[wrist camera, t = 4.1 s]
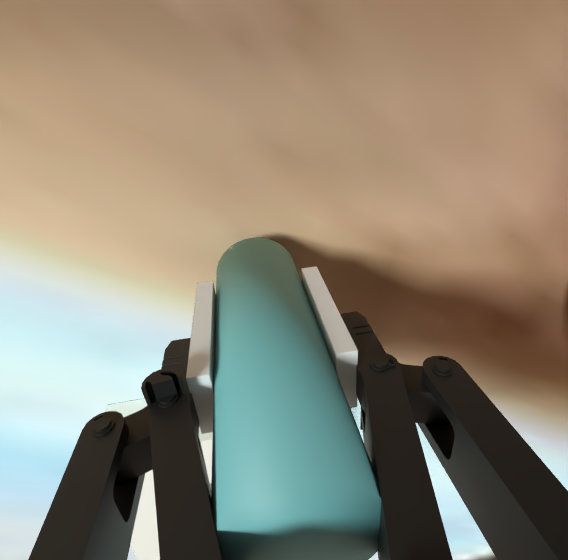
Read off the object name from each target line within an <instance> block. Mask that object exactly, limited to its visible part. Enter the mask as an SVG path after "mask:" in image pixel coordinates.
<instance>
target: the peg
mask: <svg viewBox="0 0 568 560" xmlns="http://www.w3.org/2000/svg"><path fill="white" fill-rule="evenodd" d="M211 507H212V514H213V519H214V525H215V530H216V534H217V538H218V541H219V544H220V547H221V551H222V554H223V557H224V560H368V559H369V558H371V557H372V556H373V555H374V554H375V553H376V552H377V551H378V541H379V526H380V511H381V496H380V491H379V487H378V482H377V478H376V475H375V471H374V469H373V466H372V464H371V461H370V458H369V456H368V453H367V451H366V448H365V445H364V443H363V440H362V438H361V435H360V432H359V430H358V427H357V425H356V422H355V419H354V417H353V414H352V412H351V409H350V406H349V404H348V401H347V399H346V396H345V393H344V391H343V388H342V386H341V383H340V380H339V378H338V375H337V373H336V370H335V367H334V365H333V362H332V360H331V357H330V354H329V352H328V349H327V347H326V344H325V341H324V339H323V336H322V334H321V331H320V328H319V326H318V323H317V321H316V318H315V315H314V313H313V310H312V308H311V305H310V302H309V300H308V297H307V294H306V292H305V289H304V287H303V284H302V281H301V279H300V276H299V274H298V271H297V268H296V266H295V263H294V261H293V258H292V256H291V255H290V253H289V252H288V251H287V250H286V248H284V247H283V246H282V245H281V244H279V243H277V242H275V241H273V240H270V239H266V238H249V239H245V240H242V241H240V242H237V243H236V244H234V245H232V246H231V247H230V248H229V249H228V250H227V251H226V252H225V253H224V254H223V256H222V257H221V259H220V261H219V264H218V267H217V281H216V322H215V362H214V400H213V440H212V480H211Z"/></svg>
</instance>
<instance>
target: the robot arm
mask: <svg viewBox="0 0 568 560" xmlns="http://www.w3.org/2000/svg"><path fill="white" fill-rule="evenodd" d="M301 270H302V284H303V287H304V289H305V292H306V294H307V297H308V300H309V302H310V305H311V308H312V310H313V313H314V315H315V318H316V321H317V323H318V326H319V328H320V331H321V334H322V336H323V339H324V341H325V344H326V347H327V349H328V352H329V354H330V357H331V360H332V362H333V365H334V367H335V370H336V373H337V375H338V378H339V380H340V383H341V386H342V388H343V391H344V393H345V396H346V399H347V401H348V404H349V406H350V408H353V407H357V397H358V400H359V402H360V405H361V429H363V437H364V445H365V448H366V451H367V453H368V456H369V458H370V461H371V464H372V466H373V469H374V471H375V475H376V478H377V482H378V487H379V491H380V496H381V511H380V526H379V541H378V558H379V560H453V559H452V556H451V552H450V548H449V545H448V541H447V537H446V534H445V530H444V526H443V523H442V519H441V515H440V512H439V508H438V504H437V501H436V497H435V493H434V490H433V486H432V482H431V479H430V475H429V471H428V468H427V464H426V460H425V457H424V453H423V449H422V446H421V442H420V438H419V435H418V431H417V427H416V424H415V423H418V425H419V426H420V428H421V430H422V432H423V433H424V435H425V437H426V438H427V440H428V442H429V444H430V445H431V447H432V449H433V450H434V452H435V454H436V455H437V457H438V459H439V461H440V462H441V464H442V466H443V467H444V469H445V471H446V473H447V474H448V476H449V478H450V479H451V481H452V483H453V484H454V486H455V488H456V490H457V491H458V493H459V495H460V496H461V498H462V500H463V501H464V503H465V505H466V507H467V508H468V510H469V512H470V513H471V515H472V517H473V519H474V520H475V522H476V524H477V525H478V527H479V529H480V530H481V532H482V534H483V536H484V537H485V539H486V541H487V542H488V544H489V546H490V548H491V549H492V551H493V553H494V554H495V556H496V558H497V559H498V560H568V491H567V490H566V489H565V487H564V486H563V485H562V484H561V483H560V482H559V480H558V479H557V478H556V477H555V476H554V475H553V473H552V472H551V471H550V470H549V469H548V467H547V466H546V465H545V464H544V463H543V462H542V460H541V459H540V458H539V457H538V456H537V455H536V453H535V452H534V451H533V450H532V449H531V447H530V446H529V445H528V444H527V443H526V442H525V440H524V439H523V438H522V437H521V436H520V435H519V433H518V432H517V431H516V430H515V429H514V428H513V426H512V425H511V424H510V423H509V422H508V420H507V419H506V418H505V417H504V416H503V415H502V413H501V412H500V411H499V410H498V409H497V408H496V406H495V405H494V404H493V403H492V402H491V401H490V399H489V398H488V397H487V396H486V395H485V393H484V392H483V391H482V390H481V389H480V388H479V386H478V385H477V384H476V383H475V382H474V381H473V379H472V378H471V377H470V376H469V375H468V373H467V372H466V371H465V370H464V369H463V368H462V366H461V365H460V364H458V363H457V362H456V361H455V360H453V359H450V358H448V357H443V356H432V357H429V358H427V359H426V360H425V361H424V362H423V366H413V365H404V364H401V363H398V361H397V359H396V358H394V357H393V356H392V355H389V354H386V352H385V351H384V349H383V347H382V345H381V344H380V342H379V340H378V339H377V337H376V335H375V334H374V333H373V330H372V328H371V327H370V325H369V323H368V322H367V320H366V318H365V317H364V316H362V315H361V314H359V313H358V312H351V313H345V314H340V313H339V311H338V309H337V307H336V305H335V303H334V301H333V299H332V297H331V295H330V293H329V291H328V289H327V287H326V285H325V283H324V281H323V279H322V277H321V275H320V272H319V270H318V268H317V266H315V267H308V268H301ZM215 322H216V294H215V289H214V284H213V281H210V282H203V283H197V289H196V297H195V306H194V315H193V323H192V332H191V338H187V339H181V340H174V341H171V343H170V344H169V345H168V347H167V348H166V349H165V354H164V360H163V363H162V368H161V370H158V371H156V372H153V373H152V374H150V375H149V376H148V377H146V379H145V380H144V381H143V383H142V387H141V389H142V392H143V395H144V398H145V400H146V403H147V406H146V407H145V408H143V409H141V410H139V411H137V412H135V413H133V414H130V415H128V416H126V417H123V415H122V414H121V413H119V412H117V411H108V412H104V413H101V414H99V415H97V416H95V417H94V418H92V419H91V420H90V421H89V422H88V423H87V424H86V425H85V427H84V428H83V430H82V432H81V434H80V437H79V439H78V442H77V444H76V446H75V449H74V451H73V454H72V456H71V458H70V461H69V463H68V466H67V468H66V471H65V473H64V475H63V478H62V480H61V483H60V485H59V487H58V490H57V492H56V495H55V497H54V499H53V502H52V504H51V507H50V509H49V511H48V514H47V516H46V519H45V521H44V524H43V526H42V528H41V531H40V533H39V536H38V538H37V540H36V543H35V545H34V548H33V550H32V552H31V555H30V557H29V560H127V557H128V552H129V548H130V543H131V538H132V534H133V529H134V524H135V519H136V515H137V510H138V505H139V501H140V496H141V491H142V486H143V482H144V477H145V473H147V472H149V471H151V470H153V479H154V491H155V504H156V516H157V528H158V541H159V553H160V560H224V557H223V554H222V551H221V547H220V544H219V541H218V538H217V534H216V530H215V525H214V519H213V514H212V507H211V487H210V483H209V478H208V474H207V469H206V465H205V460H204V456H203V451H202V446H201V442H200V439H199V426H200V430H201V434H204V433H210V432H213V400H214V362H215Z"/></svg>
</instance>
